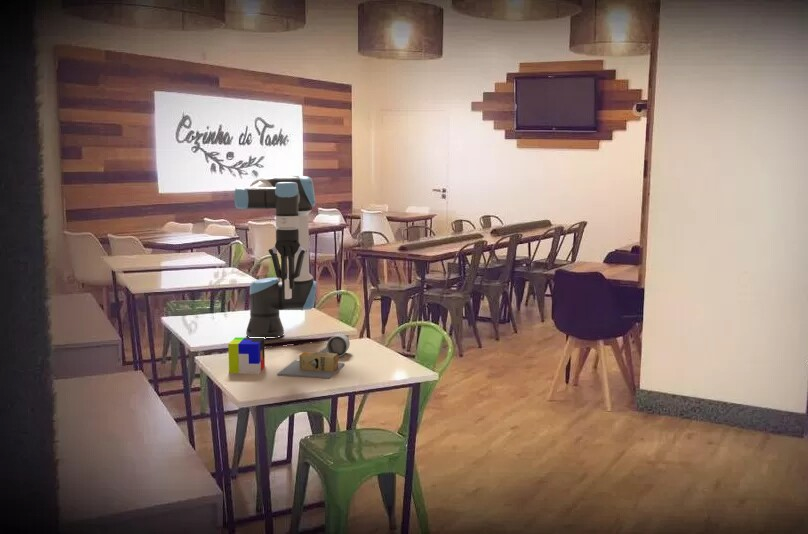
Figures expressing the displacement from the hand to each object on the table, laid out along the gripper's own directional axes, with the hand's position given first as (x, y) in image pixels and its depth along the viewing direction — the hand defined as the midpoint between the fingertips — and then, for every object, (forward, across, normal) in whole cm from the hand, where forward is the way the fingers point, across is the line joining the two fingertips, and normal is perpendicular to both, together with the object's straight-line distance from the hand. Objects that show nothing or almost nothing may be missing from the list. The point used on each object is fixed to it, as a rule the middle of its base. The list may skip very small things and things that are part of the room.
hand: (288, 298), depth 265 cm
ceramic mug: (+25, +10, +23) cm, 35 cm away
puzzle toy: (+25, -14, -4) cm, 29 cm away
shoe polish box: (+21, +4, 0) cm, 22 cm away
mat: (+24, +8, 0) cm, 26 cm away
